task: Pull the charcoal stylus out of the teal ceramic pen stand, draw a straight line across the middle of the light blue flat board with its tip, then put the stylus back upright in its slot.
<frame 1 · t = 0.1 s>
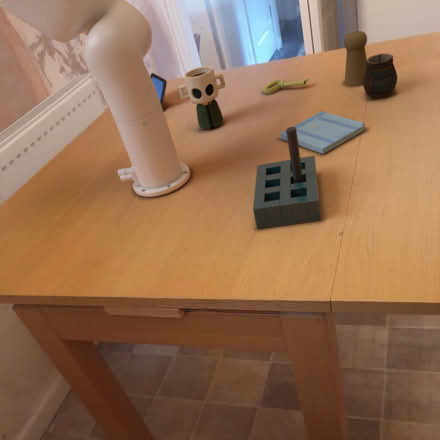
cork: (357, 82, 116), on the table
pen stand: (288, 200, 84), on the table
character mug: (212, 126, 117), on the table
mate gourd: (380, 95, 107), on the table
key: (284, 89, 124), on the table
stylus: (301, 198, 83), resting in pen stand
light blue flat board: (321, 134, 100), on the table
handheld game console: (151, 109, 137), on the table
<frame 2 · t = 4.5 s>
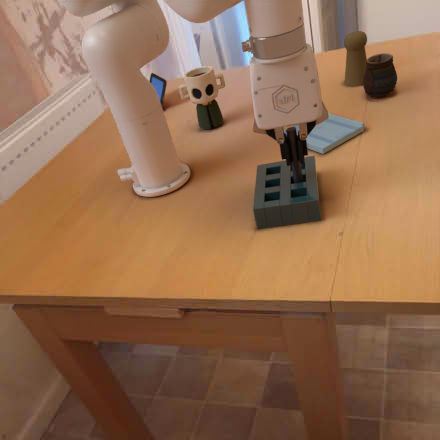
hand: (295, 160, 78), 8 cm above the table, tool pointing down, fingers closed on stylus, 1 cm apart
stylus: (301, 198, 83), resting in pen stand, touching gripper
everything else where it was.
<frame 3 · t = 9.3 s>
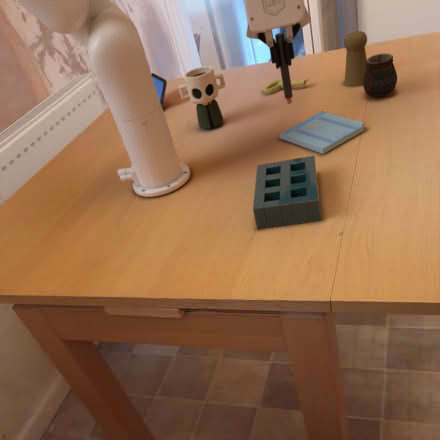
hand: (283, 64, 91), 15 cm above the table, tool pointing down, fingers closed on stylus, 1 cm apart
stylus: (289, 102, 96), point 8 cm above the table, touching gripper
everything else where it was.
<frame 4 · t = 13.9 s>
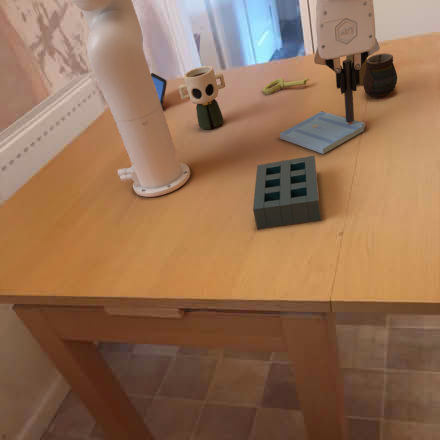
hand: (348, 89, 93), 8 cm above the table, tool pointing down, fingers closed on stylus, 1 cm apart
stylus: (350, 126, 98), point 1 cm above the table, touching gripper
everything else where it was.
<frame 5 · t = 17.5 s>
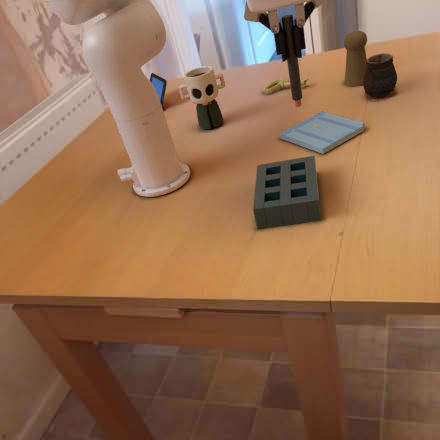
hand: (292, 56, 71), 23 cm above the table, tool pointing down, fingers closed on stylus, 1 cm apart
stylus: (298, 105, 75), point 15 cm above the table, touching gripper
everything else where it was.
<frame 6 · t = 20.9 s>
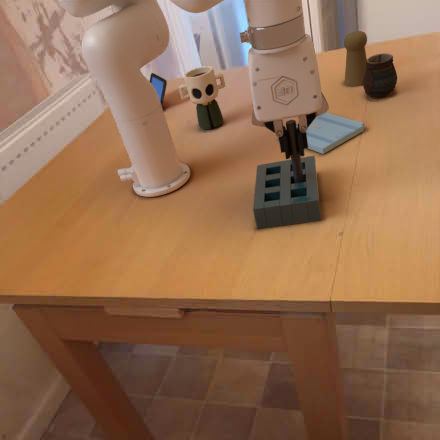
hand: (295, 153, 78), 9 cm above the table, tool pointing down, fingers closed on stylus, 1 cm apart
stylus: (300, 193, 82), point 1 cm above the table, touching gripper
everything else where it was.
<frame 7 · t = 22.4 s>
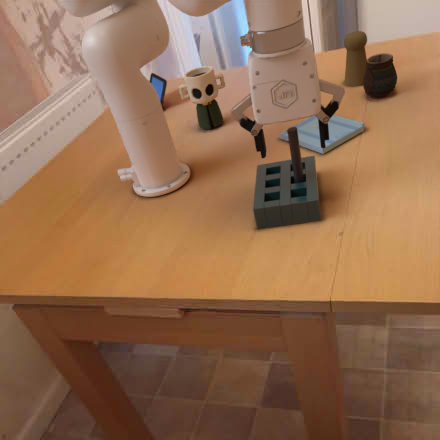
hand: (293, 149, 77), 9 cm above the table, tool pointing down, fingers open, 9 cm apart
stylus: (301, 199, 83), resting in pen stand
everything else where it was.
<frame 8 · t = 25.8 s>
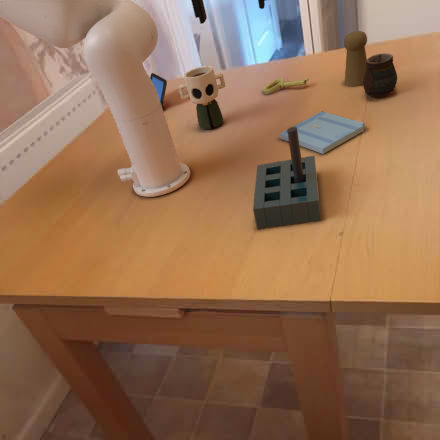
hand: (232, 14, 75), 28 cm above the table, tool pointing down, fingers open, 9 cm apart
nothing on the table moved.
at the end: stylus 0.2 cm from the target spot in the pen stand, point 0.0 cm above the pen stand's base; stylus tilted 0°; light blue flat board moved 0.0 cm from its start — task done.
